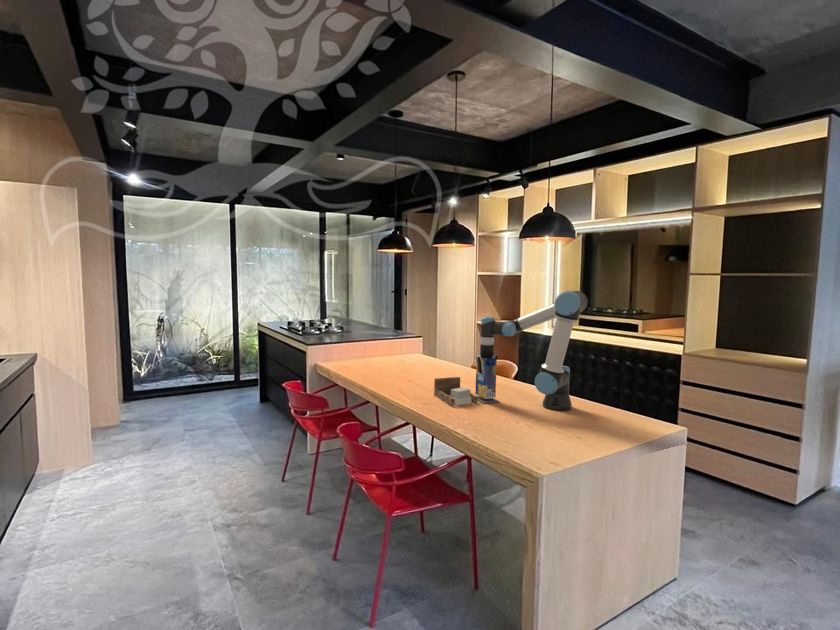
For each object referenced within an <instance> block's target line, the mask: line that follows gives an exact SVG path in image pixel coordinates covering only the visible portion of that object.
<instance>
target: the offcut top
mask: <svg viewBox="0 0 840 630" xmlns="http://www.w3.org/2000/svg"><path fill="white" fill-rule="evenodd" d="M470 393H471V389H470V388H467V387H461V388H456V389H451V397H454V398H456V399H461V398H466V397H470Z"/></svg>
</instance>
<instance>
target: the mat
mask: <svg viewBox="0 0 840 630" xmlns="http://www.w3.org/2000/svg"><path fill="white" fill-rule="evenodd" d="M476 396H477V397H478V401H477V402H479V403H481V404H483V405H487V404H488V405H489V404H497V403H498V404H499V403H500V401H499V400H497V399H495V398H487V399H484V398H482V397H480V396H479V395H476Z"/></svg>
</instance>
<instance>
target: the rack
mask: <svg viewBox="0 0 840 630" xmlns="http://www.w3.org/2000/svg"><path fill="white" fill-rule="evenodd" d="M433 388H434V392H433V393H434V397H436V398H438V399H439V400H441V401H442V402H444V403H445V404H447V405H449V407H454V406H455V405H454V398H452V397H450V395H451V389H456V388H462V387H461V377H460V376H450V377H438V378H437V377H436V378H435V377H434V385H433ZM477 396H478V395H476V394H473V393H471V392H470V397H472V398H471V404H474V405H477V404H478V402H479V401H478V397H477Z"/></svg>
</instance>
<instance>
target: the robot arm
mask: <svg viewBox="0 0 840 630" xmlns="http://www.w3.org/2000/svg"><path fill="white" fill-rule="evenodd" d="M587 306H588V298H587V295H585V293H584V292H582V291H579V290H565V291H563V292H561V293H559V294H558V295H557V296H556V297H555V299H554V303H553V304H549V305H547V306H545V307H542V308H539V309H538V310H535V311H532V312H530V313H527V314H524V315H523V316H519V317H517V318H515V319H512V320H508V321H506V320H505V321H497V320H496V318H495V317H493V316H482V317H481V321H480V345H479V346H480V348H479V349H480V350H479V354H478V355H475V360H476V361H477V367H478V373H482V368H481V360H480V359H481V358H495V359H497V360H498V355H495V353H494V349H495V347H494V344H495V336H505V337H513V336H514V335H516V334H518V333H521V332H522V331H525V330H528V329H531V328H533V327H535V326H538V325H541V324H544V323H546V322H549V321H552V320H554V319H556V320H555V323H554V327H553V330H552V335H551V339H550V343H549V346H548V351H547V354H546V358H545V362H544V363H541V366H540V370H539V372H538V373H537V375H535V378H534V386H535V389H537V391H538V392H540V393H541V394H542V395H544V398H543V400H542V406H543V408H545V409H547V410H552V411H560V412H561V411H564V412H565V411H570V410H571V409H572V405H573V404H572V401H571V397H570V394H569V393H570V376H571V369H570V367H569V366H568V365H567V366H566V365H563V364H564V361H565V357H566V353H567V350H568V346H569V342H570V339H571V335H572V331H573V328H574V324H575V323H576V322H578V321H579V317H580V314H581V312H583V311H584V310H585V309H586V308H587Z"/></svg>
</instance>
